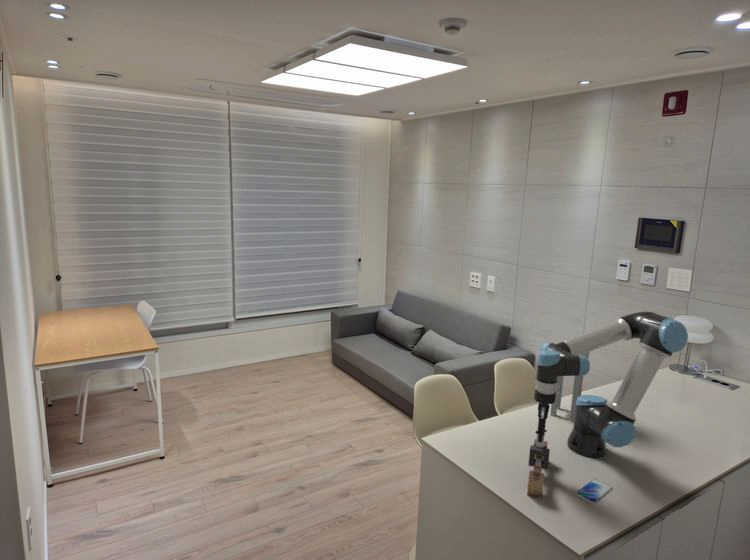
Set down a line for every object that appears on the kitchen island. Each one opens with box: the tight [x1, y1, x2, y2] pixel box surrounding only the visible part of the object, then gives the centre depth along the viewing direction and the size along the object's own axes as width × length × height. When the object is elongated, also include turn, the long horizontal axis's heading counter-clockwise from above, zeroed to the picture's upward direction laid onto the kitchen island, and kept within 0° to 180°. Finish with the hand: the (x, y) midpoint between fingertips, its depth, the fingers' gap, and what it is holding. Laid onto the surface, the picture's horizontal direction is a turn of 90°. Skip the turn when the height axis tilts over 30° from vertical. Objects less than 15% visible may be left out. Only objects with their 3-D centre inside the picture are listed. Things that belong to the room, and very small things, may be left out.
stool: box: [549, 341, 591, 422], centre depth 233 cm, size 16×16×35 cm
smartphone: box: [575, 478, 613, 505], centre depth 175 cm, size 7×1×15 cm
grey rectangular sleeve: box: [528, 444, 551, 471], centre depth 183 cm, size 7×3×7 cm, turn 68°
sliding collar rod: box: [526, 438, 549, 499], centre depth 182 cm, size 5×28×8 cm, turn 158°
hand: (539, 448), depth 185 cm, fingers closed
